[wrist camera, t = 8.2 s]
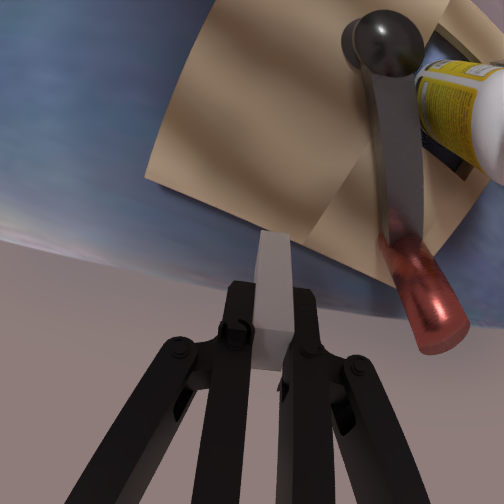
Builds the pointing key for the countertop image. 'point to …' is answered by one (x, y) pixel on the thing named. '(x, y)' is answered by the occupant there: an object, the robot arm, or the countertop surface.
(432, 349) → the lever
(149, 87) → the countertop surface
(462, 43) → the tan flat square sheet
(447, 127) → the pill bottle
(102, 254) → the countertop surface
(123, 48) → the countertop surface
